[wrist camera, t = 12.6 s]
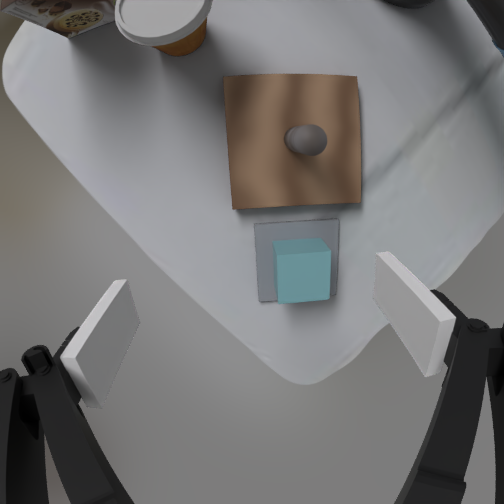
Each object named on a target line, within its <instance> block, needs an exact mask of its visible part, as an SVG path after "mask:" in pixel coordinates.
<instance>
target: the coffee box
mask: <svg viewBox="0 0 504 504" xmlns="http://www.w3.org/2000/svg"><path fill="white" fill-rule="evenodd" d="M116 1H117V0H2V1H1V9H0V11H3V12H5V13H8V14H11V15H14V16H16V17H19V18H22V19H24V20H27V21H29V22H32V23H34V24H37V25H39V26H42V27H44V28H46V29H49V30H51V31H53V32H56V33H58V34H60V35H62V36H65V37H67V38H72V37H74V36H76V35H79V34H81V33H83V32H86V31H88V30H91V29H93V28H96V27H99V26H101V25H104V24H107V23H109V22H112V21H115V5H116Z"/></svg>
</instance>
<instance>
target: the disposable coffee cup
mask: <svg viewBox="0 0 504 504" xmlns="http://www.w3.org/2000/svg"><path fill="white" fill-rule="evenodd" d="M211 5H212V0H117V1H116V5H115V21H116V25H117V27H118V29H119V31H120V32H121V33H122V34H123V36H124V37H126V38H127V39H129V40H130V41H132V42H134V43H137V44H140V45H145V46H152V47H154V48H156V49H158V50H160V51H162V52H164V53H166V54H168V55H172V56H183V55H187V54H189V53H191V52H193V51H195V50H196V49H197V48H198V47H199V46H200V45H201V44H202V42H203V41H204V38H205V35H206V24H207V15H208V13H209V12H210V9H211Z"/></svg>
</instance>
